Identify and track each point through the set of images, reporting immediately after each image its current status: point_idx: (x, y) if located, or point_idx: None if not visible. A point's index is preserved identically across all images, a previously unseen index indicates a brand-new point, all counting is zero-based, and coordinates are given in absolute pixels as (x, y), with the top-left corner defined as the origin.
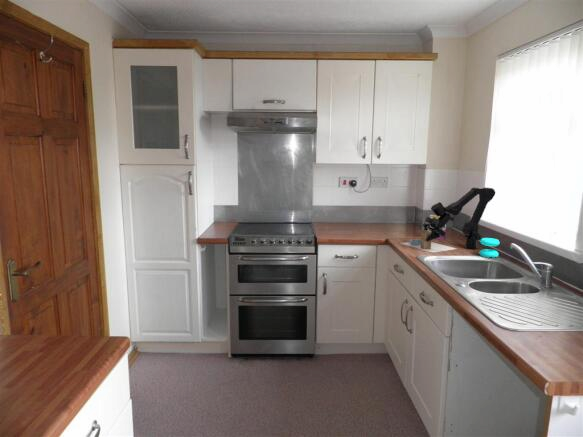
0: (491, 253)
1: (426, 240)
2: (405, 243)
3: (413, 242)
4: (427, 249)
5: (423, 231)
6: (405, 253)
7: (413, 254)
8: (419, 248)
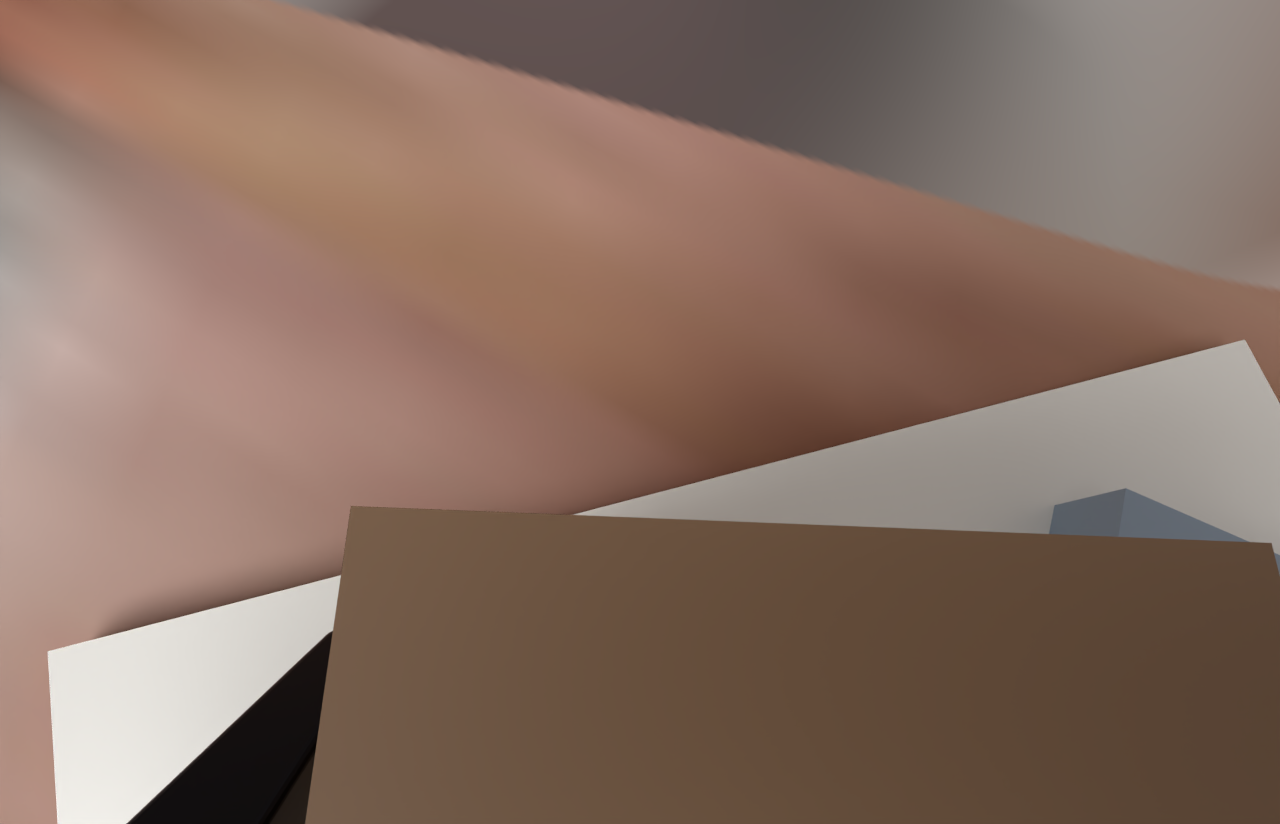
0: None
1: None
2: (1236, 457)
3: None
4: None
5: (785, 529)
6: (406, 51)
7: (259, 155)
8: None
